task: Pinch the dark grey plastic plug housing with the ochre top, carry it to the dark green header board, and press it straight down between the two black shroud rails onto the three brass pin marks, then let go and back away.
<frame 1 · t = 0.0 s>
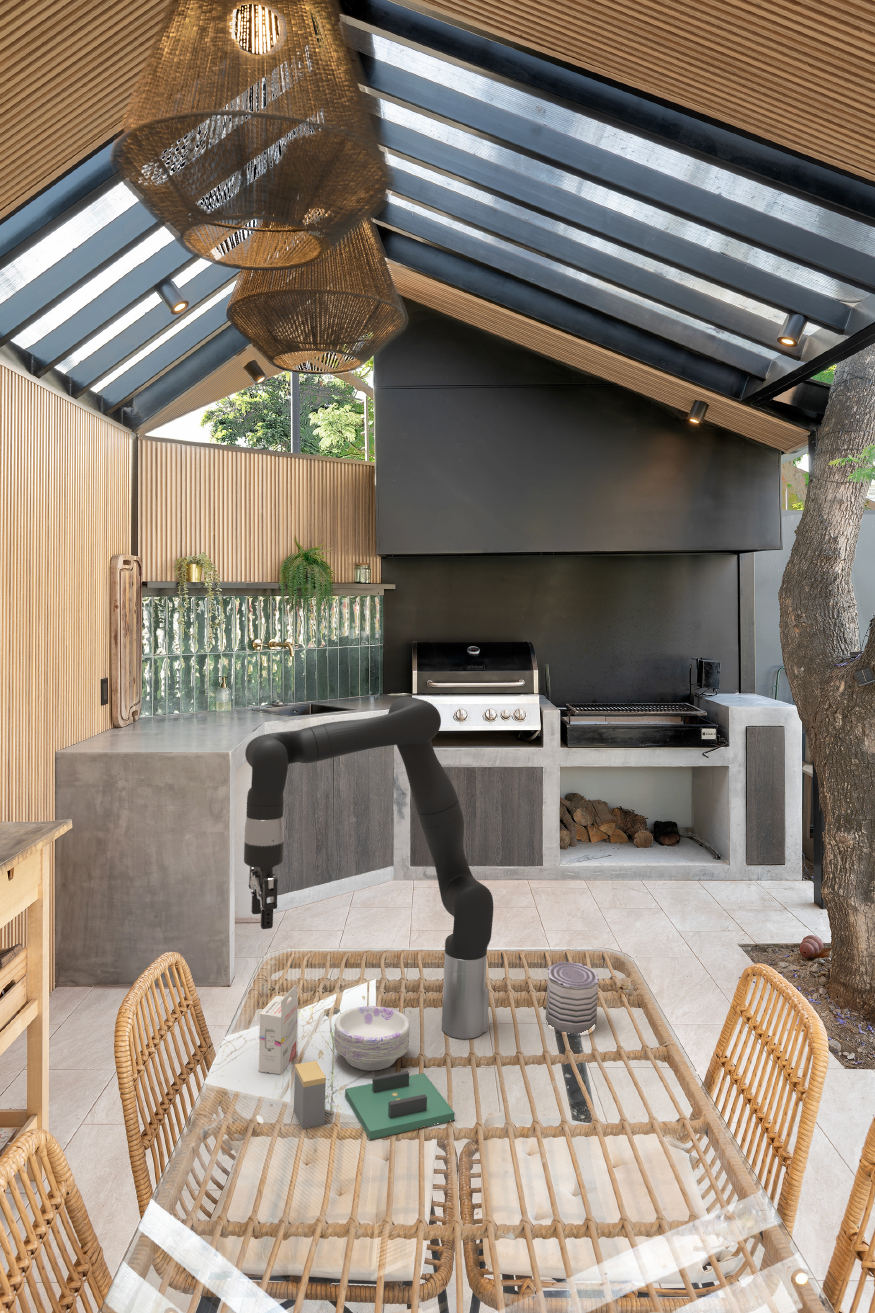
hand: (261, 920, 166), 29 cm above the table, tool pointing down, fingers open, 8 cm apart
plug housing: (308, 1117, 151), on the table
paper bowls: (370, 1060, 172), on the table
ink cartridge box: (277, 1063, 169), on the table
can: (570, 1025, 190), on the table
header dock: (398, 1108, 155), on the table
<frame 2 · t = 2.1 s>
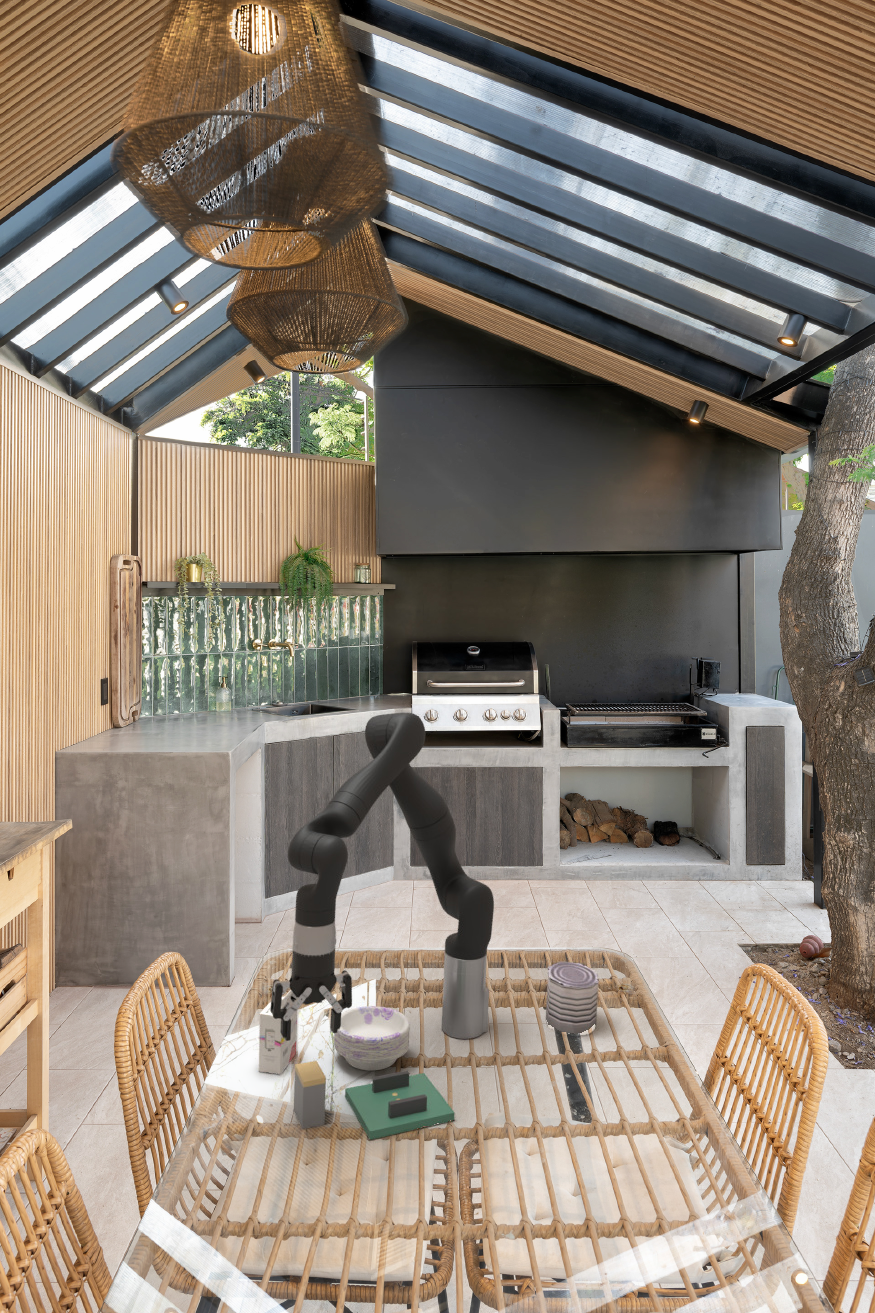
hand: (310, 1035, 150), 15 cm above the table, tool pointing down, fingers open, 8 cm apart
nothing on the table moved.
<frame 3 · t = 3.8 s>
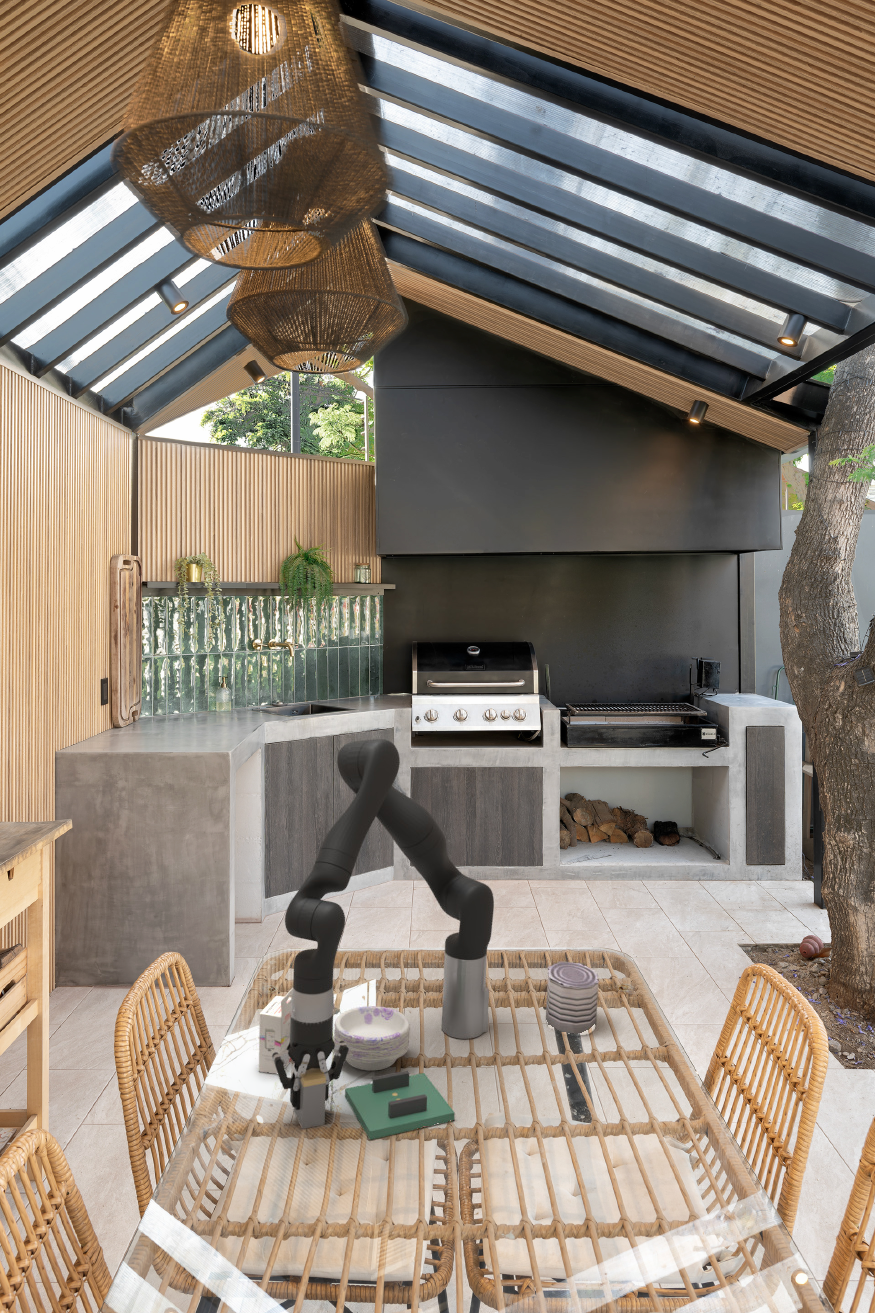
hand: (309, 1104, 151), 2 cm above the table, tool pointing down, fingers closed on plug housing, 4 cm apart
plug housing: (308, 1117, 151), on the table, touching gripper
everything else where it was.
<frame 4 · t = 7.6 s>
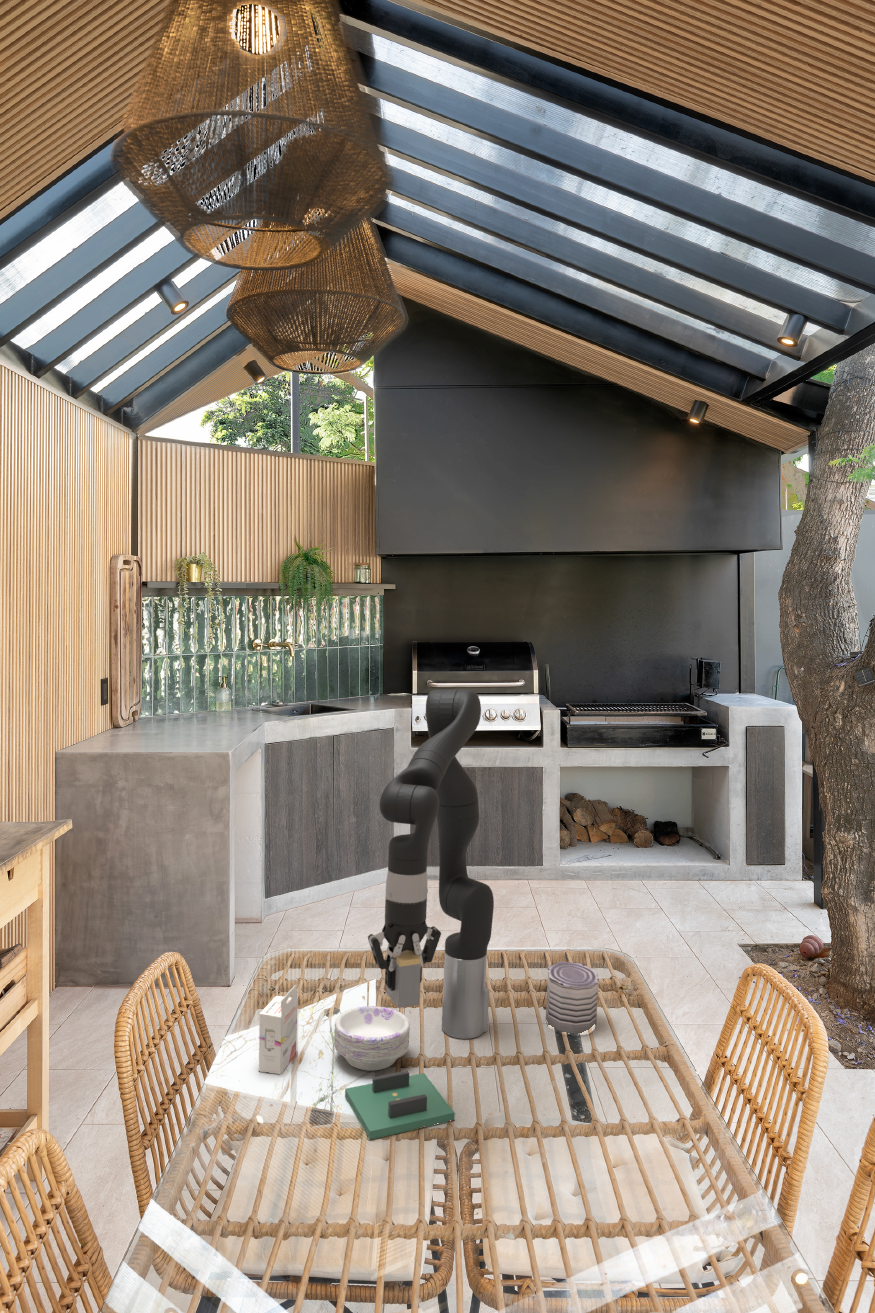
hand: (402, 986, 154), 23 cm above the table, tool pointing down, fingers closed on plug housing, 4 cm apart
plug housing: (402, 999, 154), point 20 cm above the table, touching gripper
everything else where it was.
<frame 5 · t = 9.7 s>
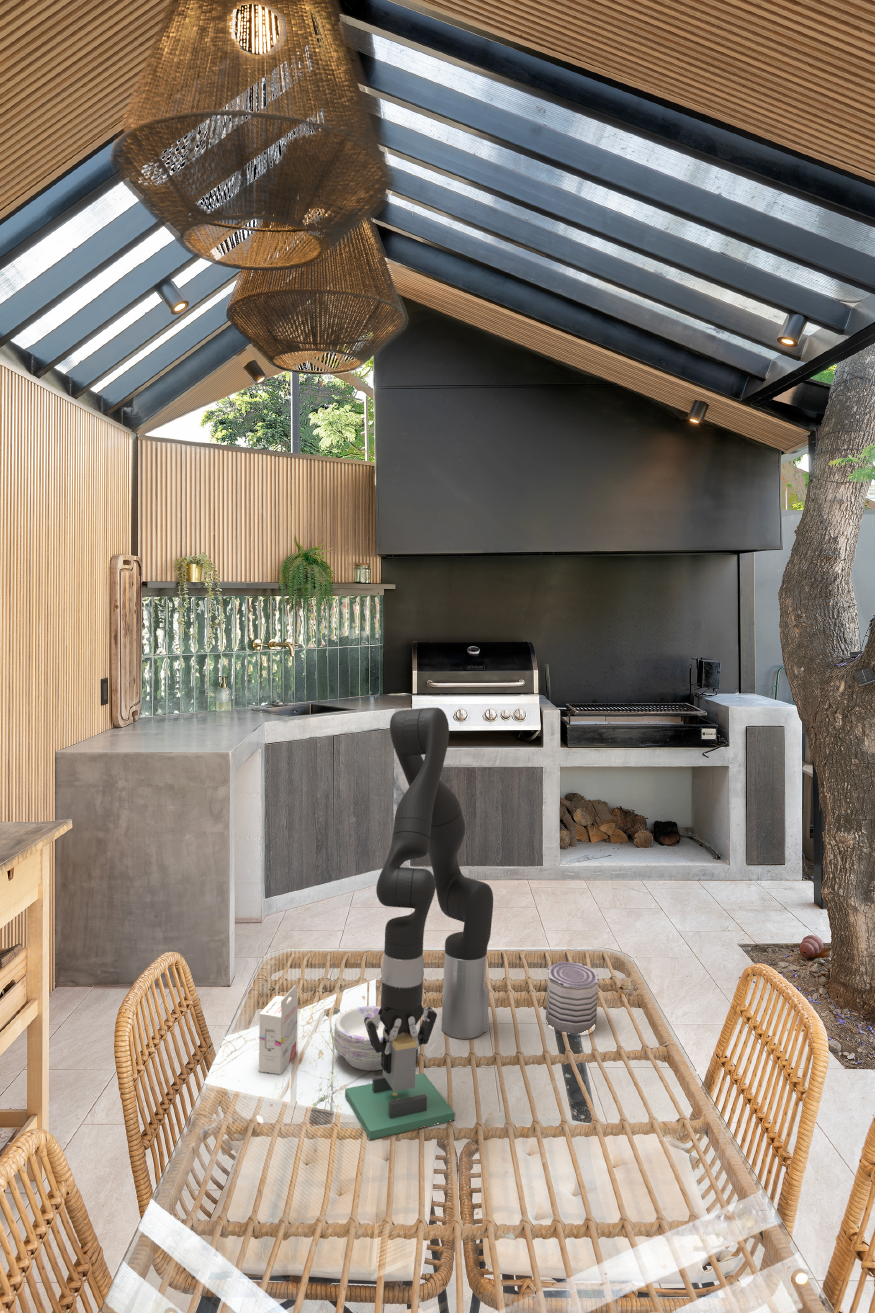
hand: (398, 1068, 154), 7 cm above the table, tool pointing down, fingers closed on plug housing, 4 cm apart
plug housing: (398, 1081, 154), point 5 cm above the table, touching gripper
everything else where it was.
when the fingers open (4 cm above the table, at t = 11.4 s): plug housing stays where it is, resting on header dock.
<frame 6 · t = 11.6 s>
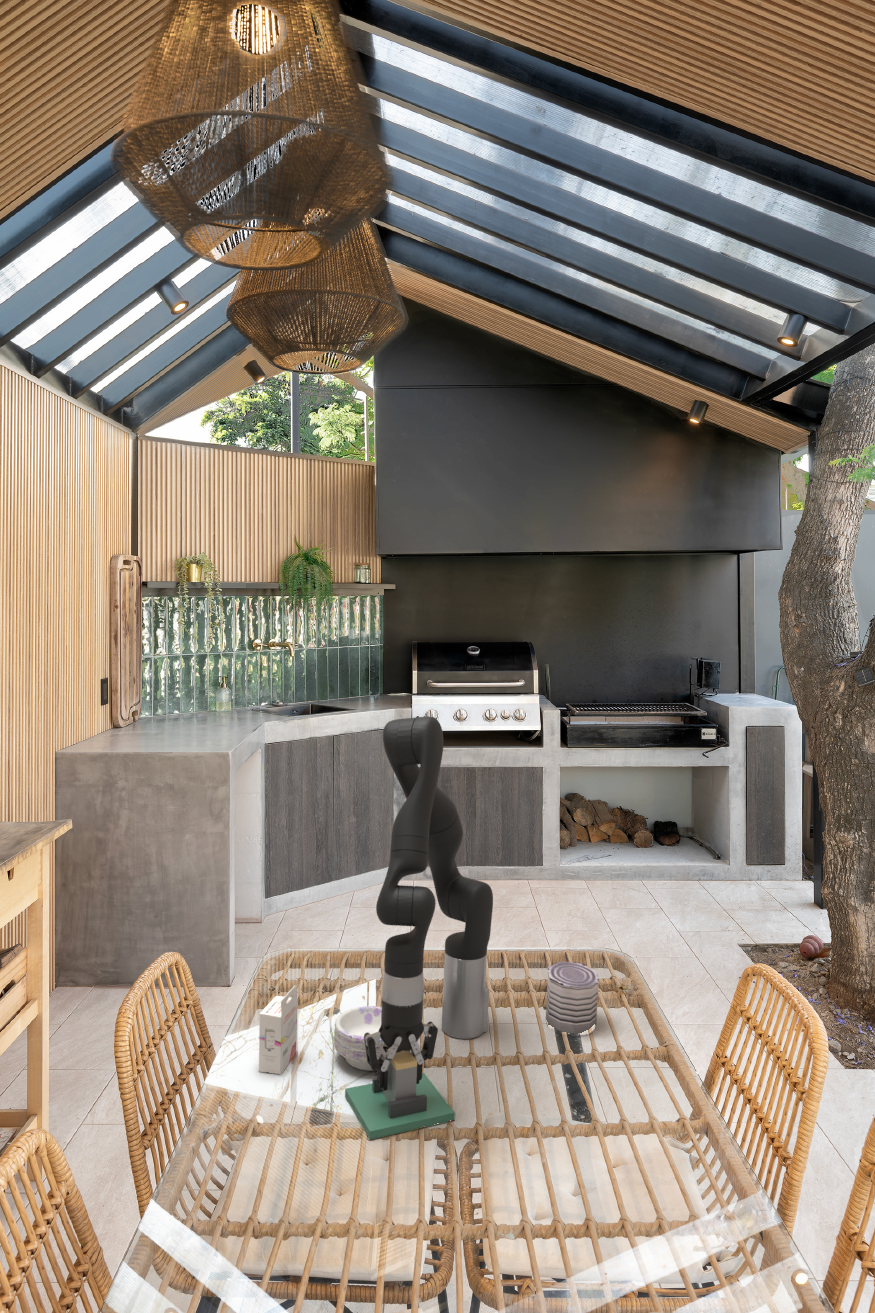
hand: (399, 1084, 155), 4 cm above the table, tool pointing down, fingers open, 5 cm apart
plug housing: (399, 1100, 155), point 2 cm above the table, touching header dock
everything else where it was.
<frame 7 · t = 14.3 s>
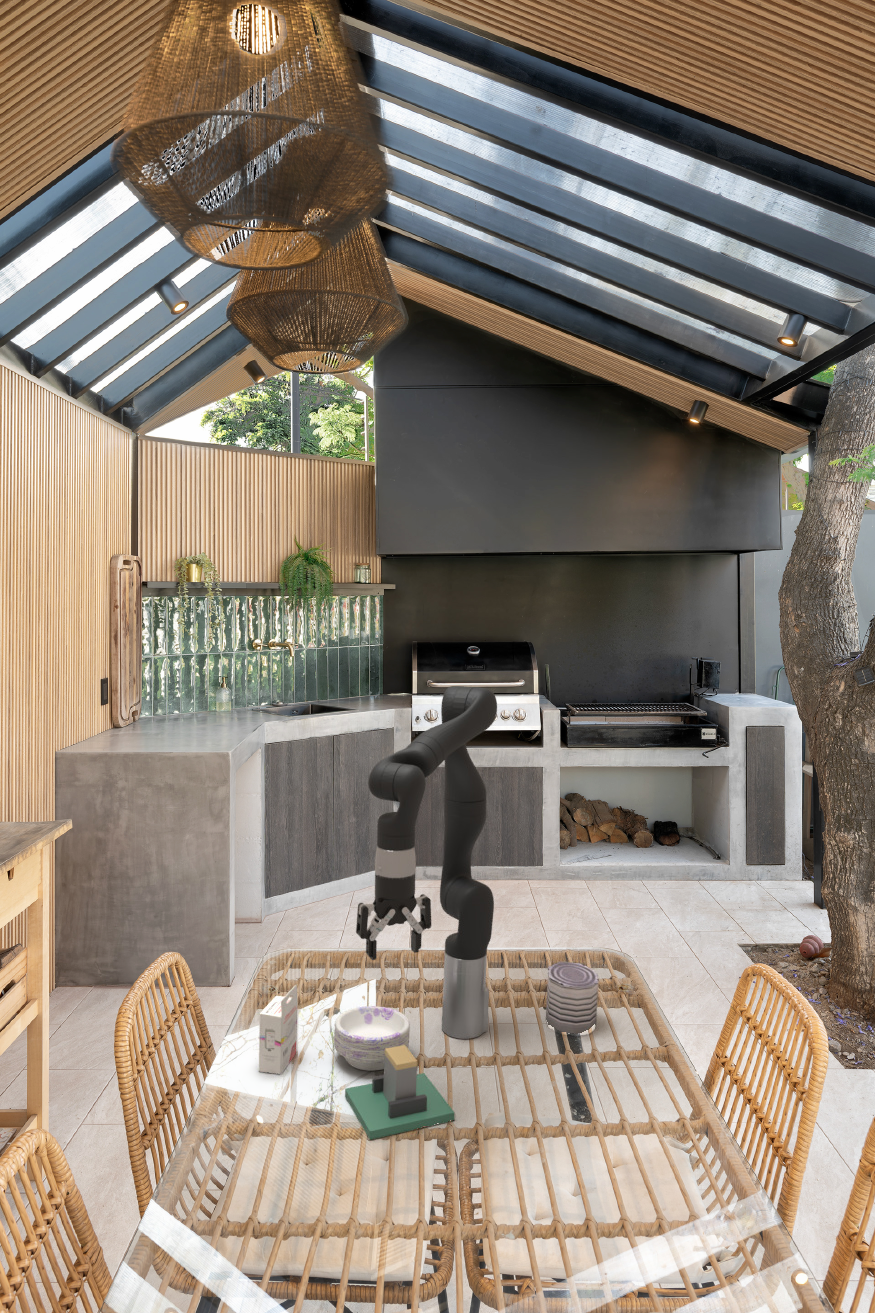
hand: (393, 954, 158), 27 cm above the table, tool pointing down, fingers open, 8 cm apart
nothing on the table moved.
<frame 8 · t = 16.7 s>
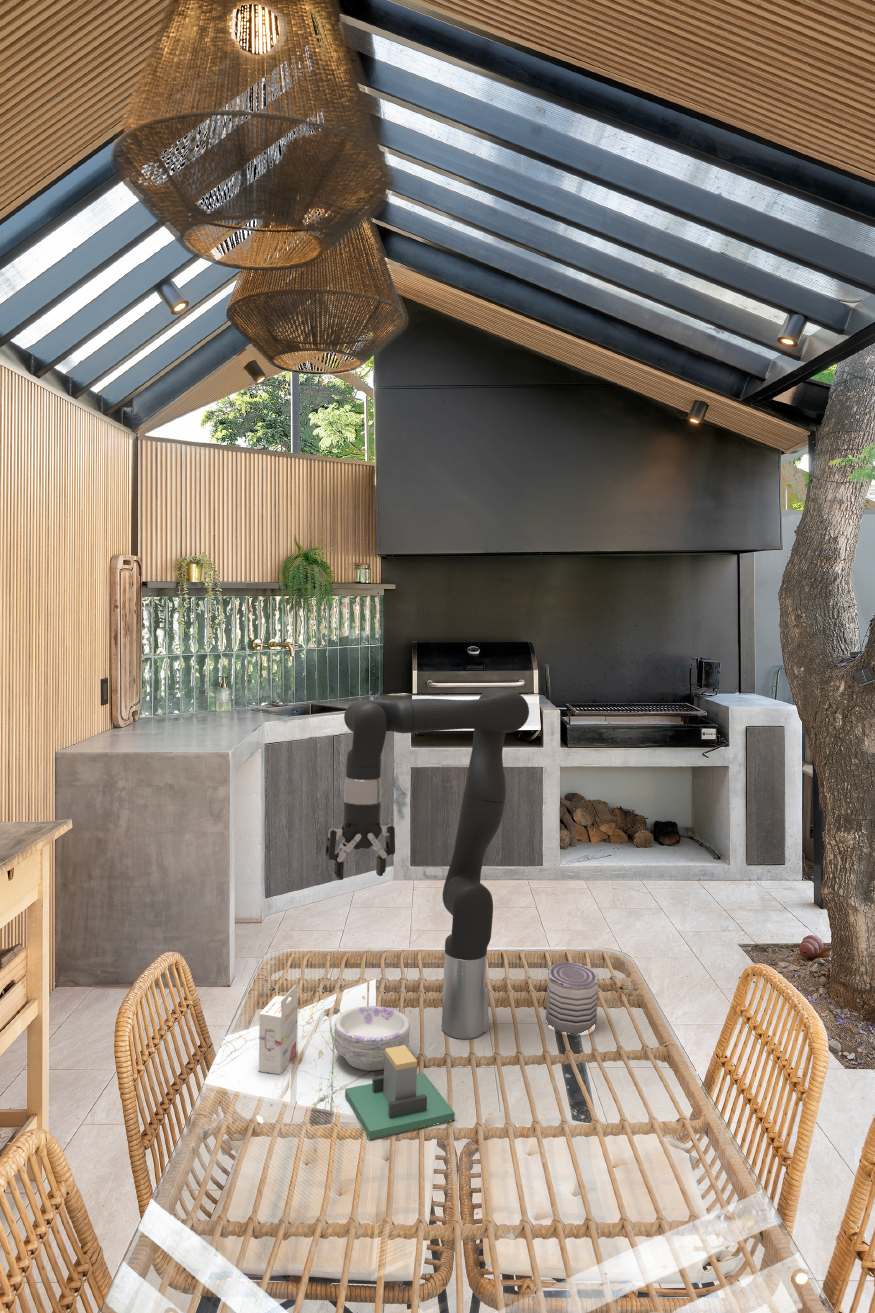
hand: (359, 877, 174), 36 cm above the table, tool pointing down, fingers open, 8 cm apart
nothing on the table moved.
at the end: plug housing 0.1 cm off-centre on the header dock, point 1.5 cm above the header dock's base; plug housing tilted 0°; the gripper is holding nothing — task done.
